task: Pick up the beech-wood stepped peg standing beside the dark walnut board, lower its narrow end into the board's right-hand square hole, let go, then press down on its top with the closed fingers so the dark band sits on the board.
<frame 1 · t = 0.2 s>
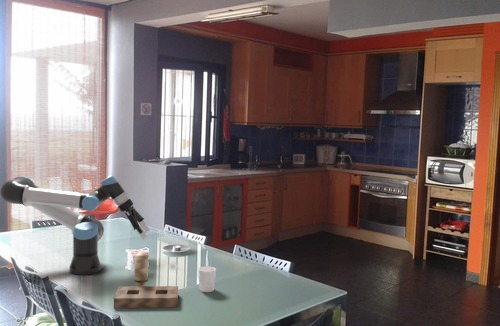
hand: (146, 234, 265), 15 cm above the table, fingers open, 13 cm apart
walnut board: (147, 301, 213), on the table
beech peg: (141, 288, 227), on the table
white cup: (206, 290, 229), on the table
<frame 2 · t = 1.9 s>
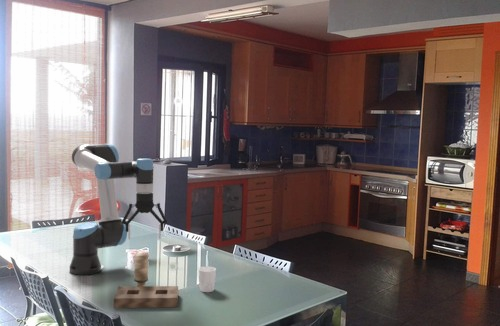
hand: (144, 238, 227), 23 cm above the table, fingers open, 13 cm apart
nothing on the table moved.
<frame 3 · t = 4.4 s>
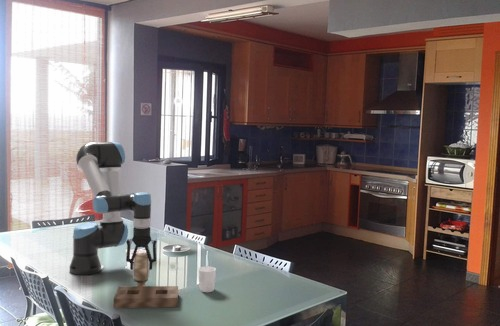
hand: (141, 276, 227), 6 cm above the table, fingers closed on beech peg, 6 cm apart
beech peg: (141, 288, 227), on the table, touching gripper
everything else where it was.
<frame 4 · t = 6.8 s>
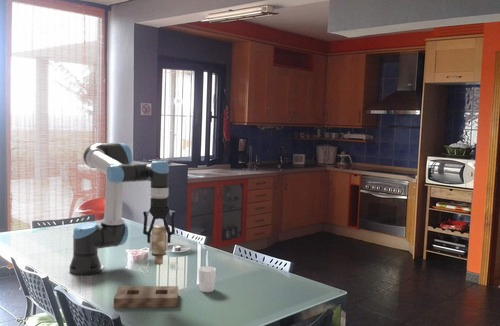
hand: (158, 250, 214), 22 cm above the table, fingers closed on beech peg, 6 cm apart
beech peg: (158, 263, 214), point 16 cm above the table, touching gripper
everything else where it was.
when the fingers open (8 cm above the table, at t = 9.4 s): beech peg drops 2 cm, resting on walnut board.
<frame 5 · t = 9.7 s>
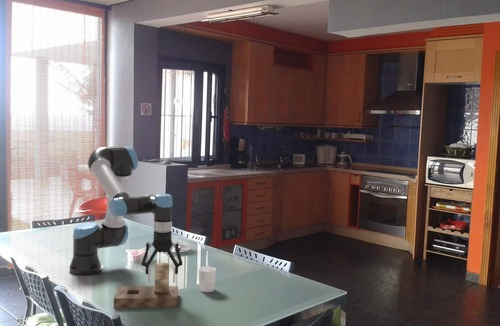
hand: (161, 281, 213), 9 cm above the table, fingers open, 10 cm apart
beech peg: (161, 300, 214), resting on walnut board
everything else where it was.
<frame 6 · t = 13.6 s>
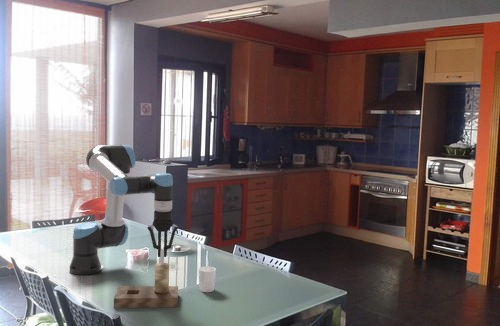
hand: (162, 264, 212), 16 cm above the table, fingers closed
beech peg: (161, 300, 214), resting on walnut board, touching gripper
everything else where it was.
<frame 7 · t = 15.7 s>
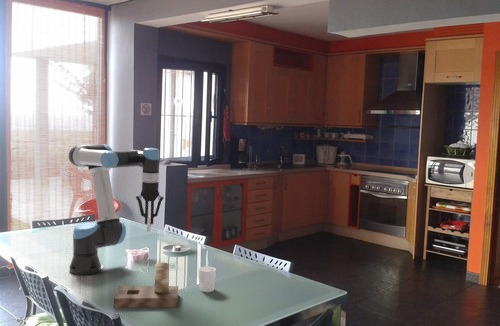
hand: (148, 230, 233), 25 cm above the table, fingers closed
beech peg: (161, 300, 214), resting on walnut board
everything else where it was.
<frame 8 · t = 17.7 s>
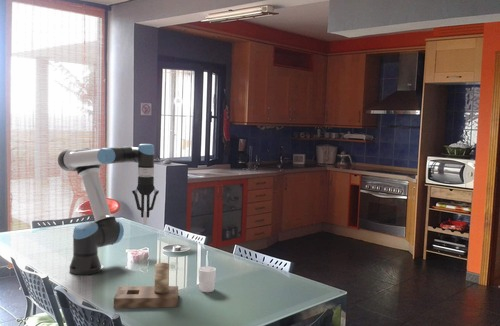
hand: (145, 223, 242), 26 cm above the table, fingers closed
nothing on the table moved.
at the end: beech peg 0.0 cm from the target spot on the walnut board, point 0.0 cm above the walnut board's base; beech peg tilted 0°; the gripper is holding nothing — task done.
